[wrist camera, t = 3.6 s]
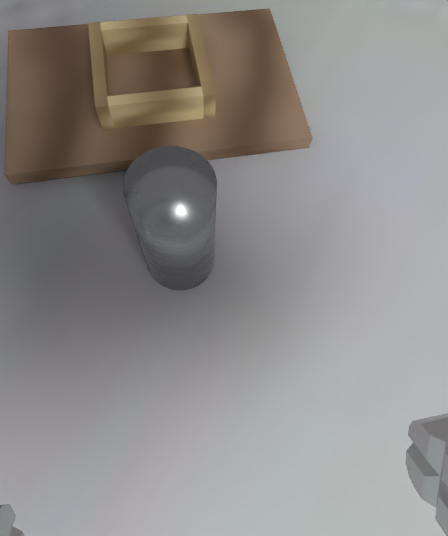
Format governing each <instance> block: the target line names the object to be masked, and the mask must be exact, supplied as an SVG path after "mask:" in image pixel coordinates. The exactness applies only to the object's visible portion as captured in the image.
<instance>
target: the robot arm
mask: <svg viewBox="0 0 448 536" xmlns="http://www.w3.org/2000/svg"><path fill="white" fill-rule="evenodd" d="M408 436H409V437H410V438H411V440H412V441H413V444H412V445H411V446H410V447H409V449H408V450H407V451H406V466H407V470H408V474H409V477H410V479H411V481H412V483H413V486H414V488H415V489H416V491H417V492H418V494H419V495H420V497H421V498H422V499H423V500H425V501H426V502H428V503H430V504H431V505H433V506H434V507H436V521H437V522H438V524H439V525H440V527H441V528H442V530H443V531H444V533H445V534H446V536H448V413H447V414H443V415H438V416H433V417H429V418H424V419H419V420H415V421H412V423H411V424H410V426H409V432H408ZM15 517H16V515H15V513H14V511H13V509H12V507H11V505H10V504H4V505H0V536H24V533H23V531H21V530H19V529H17V528H15V527H13V523H14V520H15Z"/></svg>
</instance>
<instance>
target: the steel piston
mask: <svg viewBox="0 0 448 536" xmlns="http://www.w3.org/2000/svg"><path fill="white" fill-rule="evenodd" d="M216 189H217V181H216V176H215V172H214V170H213V168H212V166H211V165H210V163H209V162H208V161H207V160H206V159H205V158H204V157H203V156H201V155H200V154H198V153H197V152H195V151H193V150H190V149H188V148H184V147H179V146H163V147H158V148H154V149H151V150H149V151H147V152H145V153H143V154H141V155H140V156H139V157H137V158H136V159H135V160H134V161H133V162H132V163H131V165H130V166H129V168H128V169H127V171H126V173H125V176H124V180H123V192H124V196H125V199H126V202H127V205H128V208H129V211H130V214H131V217H132V220H133V223H134V226H135V229H136V232H137V235H138V238H139V241H140V244H141V247H142V250H143V252H144V255H145V258H146V261H147V264H148V267H149V270H150V273H151V274H152V276H153V277H154V279H155V280H156V281H157V282H158V283H160V284H161V285H163V286H165V287H167V288H170V289H174V290H186V289H190V288H193V287H195V286H197V285H199V284H200V283H202V282H203V281H204V280H205V279H206V278H207V277H208V275H209V274H210V272H211V270H212V267H213V261H214V237H215V213H216Z"/></svg>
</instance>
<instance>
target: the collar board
mask: <svg viewBox="0 0 448 536" xmlns="http://www.w3.org/2000/svg"><path fill="white" fill-rule="evenodd" d="M311 140H312V136H311V133H310V130H309V127H308V124H307V121H306V118H305V114H304V111H303V108H302V105H301V102H300V99H299V96H298V93H297V90H296V87H295V84H294V81H293V78H292V75H291V72H290V69H289V66H288V63H287V60H286V57H285V54H284V51H283V48H282V45H281V42H280V39H279V36H278V33H277V30H276V26H275V23H274V20H273V17H272V14H271V11H270V9H259V10H247V11H235V12H224V13H212V14H200V15H197V14H191V15H180V16H168V17H156V18H144V19H133V20H121V21H109V22H97V23H88V24H83V25H71V26H60V27H48V28H36V29H25V30H13V31H9V34H8V75H7V115H6V156H5V176H6V177H7V178H8V180H9V181H10V182H11V184H19V183H27V182H35V181H43V180H51V179H59V178H67V177H75V176H83V175H91V174H99V173H107V172H115V171H123V170H127V169H128V168H129V166H130V165H131V163H132V162H133V161H134V160H135V159H136V158H137V157H139V156H140V155H141V154H143V153H145V152H147V151H149V150H151V149H154V148H158V147H163V146H179V147H184V148H188V149H190V150H193V151H195V152H197V153H198V154H200V155H201V156H203V157H204V158H205V159H206V160H212V159H220V158H228V157H236V156H244V155H252V154H260V153H268V152H277V151H285V150H293V149H301V148H309V145H310V143H311Z"/></svg>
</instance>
